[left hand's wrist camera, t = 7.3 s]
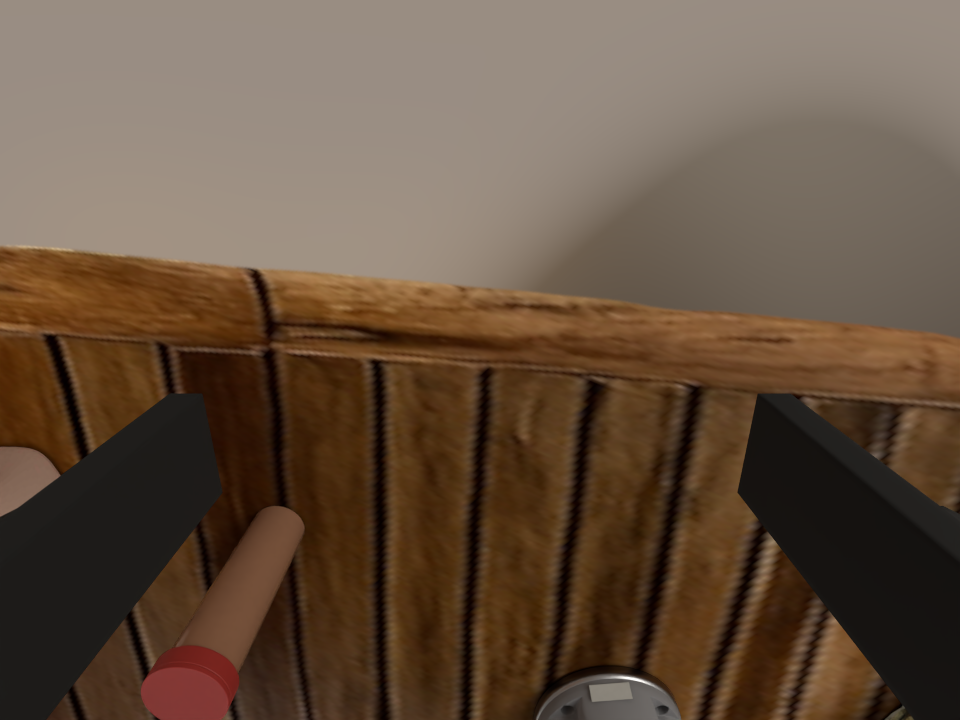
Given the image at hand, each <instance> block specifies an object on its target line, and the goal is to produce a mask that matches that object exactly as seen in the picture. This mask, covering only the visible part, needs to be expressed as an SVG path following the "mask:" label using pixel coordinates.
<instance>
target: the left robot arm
mask: <svg viewBox="0 0 960 720" xmlns="http://www.w3.org/2000/svg"><path fill="white" fill-rule="evenodd" d="M221 494H222V488H221V483H220V478H219V473H218V468H217V463H216V459H215V454H214V449H213V444H212V439H211V434H210V429H209V425H208V420H207V415H206V410H205V405H204V400H203V395H202V394H169V395H167V396H166V397H165V398H163V399H162V400H161V401H159V402H158V403H157V404H155V405H154V406H153V407H151V408H150V409H149V410H147V411H146V412H145V413H143V414H142V415H141V416H139V417H138V418H137V419H135V420H134V421H133V422H131V423H130V424H129V425H127V426H126V427H125V428H123V429H122V430H121V431H119V432H118V433H117V434H115V435H114V436H113V437H111V438H110V439H109V440H107V441H106V442H105V443H103V444H102V445H101V446H99V447H98V448H97V449H96V450H94V451H93V452H92V453H90V454H89V455H88V456H86V457H85V458H84V459H82V460H81V461H80V462H78V463H77V464H76V465H74V466H73V467H72V468H70V469H69V470H68V471H66V472H65V473H64V474H62V475H61V476H60V477H58V478H57V479H56V480H54V481H53V482H52V483H50V484H49V485H48V486H46V487H45V488H44V489H42V490H41V491H40V492H38V493H37V494H36V495H34V496H33V497H32V498H30V499H29V500H28V501H26V502H25V503H24V504H22V505H21V506H20V507H18V508H16V509H14V510H13V511H11V512H9V513H7V514H5V515H3V516H1V517H0V720H46V719H47V718H48V716H49V715H50V714H51V713H52V711H53V710H54V709H55V707H56V706H57V705H58V704H59V702H60V701H61V700H62V698H63V697H64V696H65V695H66V693H67V692H68V691H69V689H70V688H71V687H72V686H73V684H74V683H75V682H76V680H77V679H78V678H79V677H80V675H81V674H82V673H83V671H84V670H85V669H86V668H87V666H88V665H89V664H90V662H91V661H92V660H93V659H94V657H95V656H96V655H97V653H98V652H99V651H100V650H101V648H102V647H103V646H104V644H105V643H106V642H107V640H108V639H109V638H110V637H111V635H112V634H113V633H114V631H115V630H116V629H117V628H118V626H119V625H120V624H121V622H122V621H123V620H124V619H125V617H126V616H127V615H128V613H129V612H130V611H131V610H132V608H133V607H134V606H135V604H136V603H137V602H138V601H139V599H140V598H141V597H142V595H143V594H144V593H145V592H146V590H147V589H148V588H149V586H150V585H151V584H152V583H153V581H154V580H155V579H156V577H157V576H158V575H159V574H160V572H161V571H162V570H163V568H164V567H165V566H166V565H167V563H168V562H169V561H170V559H171V558H172V557H173V555H174V554H175V553H176V552H177V550H178V549H179V548H180V546H181V545H182V544H183V543H184V541H185V540H186V539H187V537H188V536H189V535H190V534H191V532H192V531H193V530H194V528H195V527H196V526H197V525H198V523H199V522H200V521H201V519H202V518H203V517H204V516H205V514H206V513H207V512H208V510H209V509H210V508H211V507H212V505H213V504H214V503H215V501H216V500H217V499H218V498H219V496H220V495H221ZM738 494H739V495H740V496H741V498H742V499H743V500H744V501H745V503H746V504H747V505H748V507H749V508H750V509H751V510H752V512H753V513H754V514H755V516H756V517H757V518H758V519H759V521H760V522H761V523H762V525H763V526H764V527H765V528H766V530H767V531H768V532H769V534H770V535H771V536H772V537H773V539H774V540H775V541H776V543H777V544H778V545H779V546H780V548H781V549H782V550H783V552H784V553H785V554H786V555H787V557H788V558H789V559H790V561H791V562H792V563H793V565H794V566H795V567H796V568H797V570H798V571H799V572H800V574H801V575H802V576H803V577H804V579H805V580H806V581H807V583H808V584H809V585H810V586H811V588H812V589H813V590H814V592H815V593H816V594H817V595H818V597H819V598H820V599H821V601H822V602H823V603H824V604H825V606H826V607H827V608H828V610H829V611H830V612H831V613H832V615H833V616H834V617H835V619H836V620H837V621H838V622H839V624H840V625H841V626H842V628H843V629H844V630H845V631H846V633H847V634H848V635H849V637H850V638H851V639H852V640H853V642H854V643H855V644H856V646H857V647H858V648H859V650H860V651H861V652H862V653H863V655H864V656H865V657H866V659H867V660H868V661H869V662H870V664H871V665H872V666H873V668H874V669H875V670H876V671H877V673H878V674H879V675H880V677H881V678H882V679H883V680H884V682H885V683H886V684H887V686H888V687H889V688H890V689H891V691H892V692H893V693H894V695H895V696H896V697H897V698H898V700H899V701H900V702H901V704H902V705H903V706H904V707H905V709H906V710H907V711H908V713H909V714H910V715H911V716H912V718H913V719H914V720H960V514H958V513H956V512H954V511H952V510H950V509H948V508H946V507H944V506H939V505H938V504H936V503H935V502H934V501H932V500H931V499H930V498H928V497H927V496H926V495H924V494H923V493H922V492H920V491H919V490H918V489H916V488H915V487H914V486H912V485H911V484H910V483H908V482H907V481H906V480H904V479H903V478H902V477H900V476H899V475H898V474H896V473H895V472H894V471H892V470H891V469H890V468H888V467H887V466H886V465H884V464H883V463H882V462H880V461H879V460H878V459H876V458H875V457H874V456H872V455H871V454H870V453H868V452H867V451H866V450H864V449H863V448H862V447H861V446H859V445H858V444H857V443H855V442H854V441H853V440H851V439H850V438H849V437H847V436H846V435H845V434H843V433H842V432H841V431H839V430H838V429H837V428H835V427H834V426H833V425H831V424H830V423H829V422H827V421H826V420H825V419H823V418H822V417H821V416H819V415H818V414H817V413H815V412H814V411H813V410H811V409H810V408H809V407H807V406H806V405H805V404H803V403H802V402H801V401H799V400H798V399H797V398H795V397H794V396H793V395H791V394H758V395H757V400H756V405H755V410H754V415H753V420H752V425H751V429H750V434H749V439H748V444H747V449H746V454H745V459H744V463H743V468H742V473H741V478H740V483H739V488H738ZM534 720H681V716H680V712H679V710H678V707H677V704H676V701H675V699H674V696H673V694H672V693H671V691H670V690H669V689H668V688H667V686H666V685H665V684H664V683H662V682H661V681H660V680H659V679H657V678H656V677H654V676H652V675H650V674H648V673H646V672H643V671H640V670H637V669H633V668H628V667H620V666H602V667H594V668H589V669H585V670H581V671H578V672H575V673H573V674H571V675H568V676H566V677H564V678H562V679H561V680H559V681H558V682H556V683H555V684H554V685H552V686H551V687H550V688H549V689H548V690H547V691H546V692H545V693H544V694H543V695H542V697H541V698H540V700H539V702H538V703H537V706H536V708H535V712H534Z"/></svg>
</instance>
